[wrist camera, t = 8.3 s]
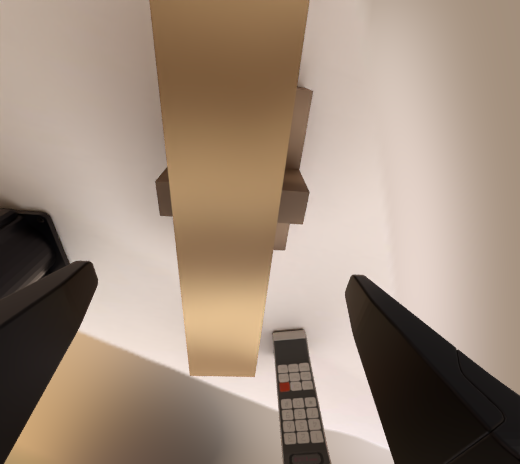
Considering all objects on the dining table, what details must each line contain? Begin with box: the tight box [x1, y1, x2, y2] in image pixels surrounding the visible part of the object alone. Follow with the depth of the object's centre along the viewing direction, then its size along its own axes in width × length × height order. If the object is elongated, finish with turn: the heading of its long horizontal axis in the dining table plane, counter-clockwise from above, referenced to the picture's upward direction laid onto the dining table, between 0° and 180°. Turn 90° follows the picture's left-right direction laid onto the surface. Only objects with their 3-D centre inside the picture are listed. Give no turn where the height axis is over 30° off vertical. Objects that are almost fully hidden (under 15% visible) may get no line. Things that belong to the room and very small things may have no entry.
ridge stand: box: [155, 87, 313, 250], centre depth 16 cm, size 11×8×6 cm
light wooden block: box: [149, 0, 309, 377], centre depth 12 cm, size 16×4×5 cm, turn 175°
